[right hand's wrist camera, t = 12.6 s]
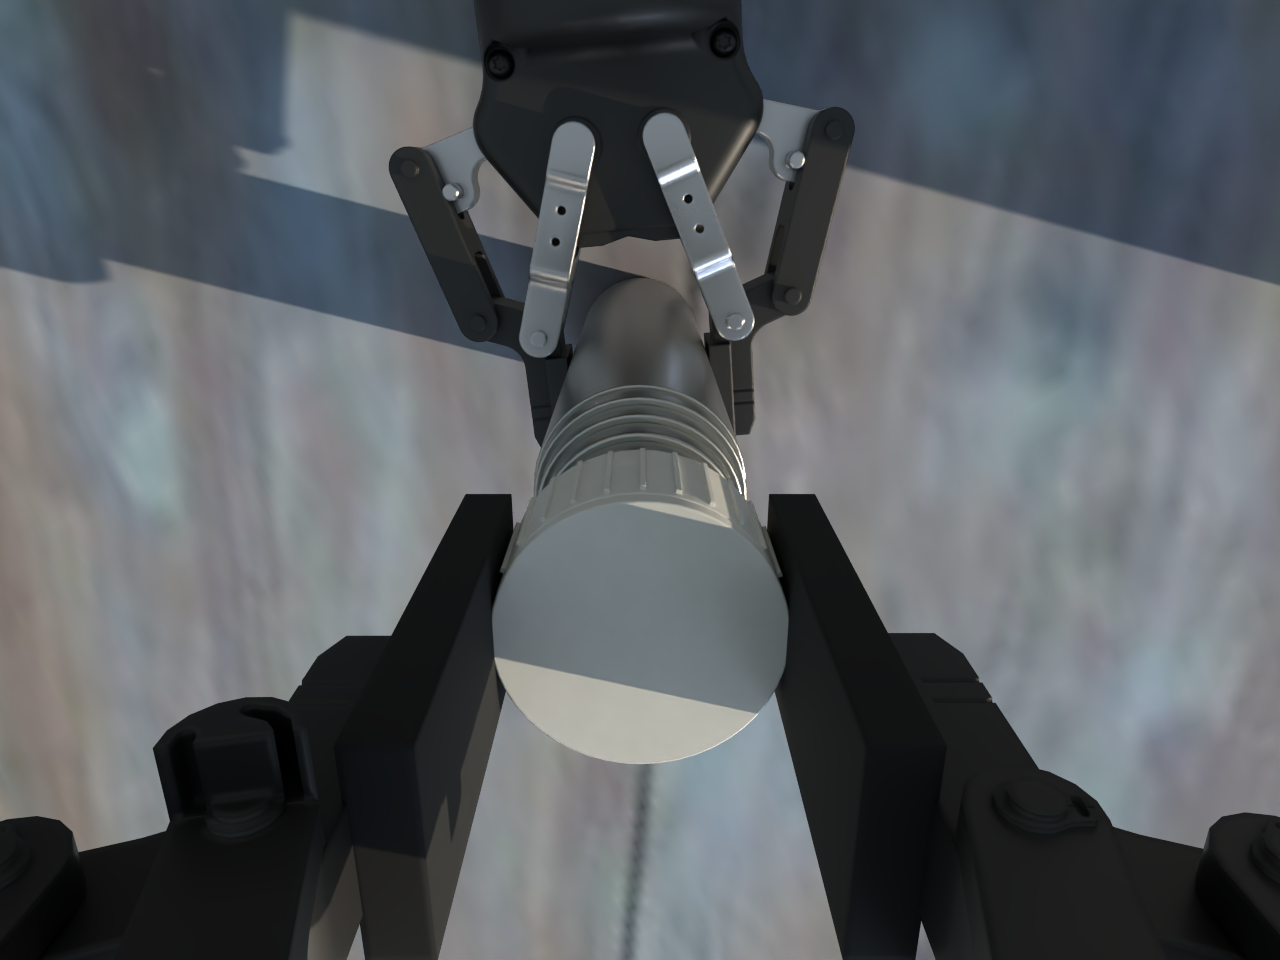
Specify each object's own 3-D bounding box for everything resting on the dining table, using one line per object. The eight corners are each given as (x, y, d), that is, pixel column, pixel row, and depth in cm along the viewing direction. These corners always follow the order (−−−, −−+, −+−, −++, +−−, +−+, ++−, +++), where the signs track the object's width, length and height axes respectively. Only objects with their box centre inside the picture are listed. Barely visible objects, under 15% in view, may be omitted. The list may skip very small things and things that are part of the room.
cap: (554, 707, 15) (540, 796, 13) (470, 484, 14) (440, 543, 12) (796, 649, 15) (822, 730, 13) (737, 414, 14) (755, 461, 11)
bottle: (602, 401, 35) (542, 779, 14) (569, 295, 34) (445, 530, 12) (708, 372, 35) (819, 715, 13) (680, 263, 33) (753, 449, 12)
